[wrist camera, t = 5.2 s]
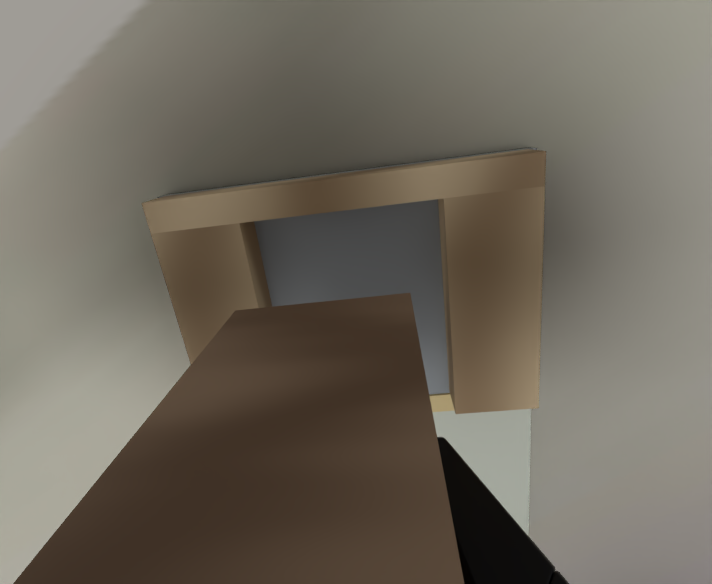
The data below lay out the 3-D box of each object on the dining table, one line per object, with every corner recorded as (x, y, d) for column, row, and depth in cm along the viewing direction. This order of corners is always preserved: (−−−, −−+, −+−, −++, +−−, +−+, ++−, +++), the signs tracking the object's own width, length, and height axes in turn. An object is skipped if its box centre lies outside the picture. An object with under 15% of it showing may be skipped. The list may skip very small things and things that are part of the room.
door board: (530, 147, 14) (537, 148, 14) (524, 534, 20) (529, 548, 20) (165, 194, 15) (155, 197, 15) (265, 546, 22) (261, 559, 21)
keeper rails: (528, 149, 14) (545, 151, 12) (525, 385, 17) (538, 408, 15) (163, 196, 15) (141, 203, 13) (224, 408, 18) (211, 432, 17)
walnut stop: (410, 292, 8) (477, 655, 2) (432, 537, 10) (494, 1017, 5) (235, 309, 8) (-52, 665, 3) (293, 543, 11) (198, 998, 5)
